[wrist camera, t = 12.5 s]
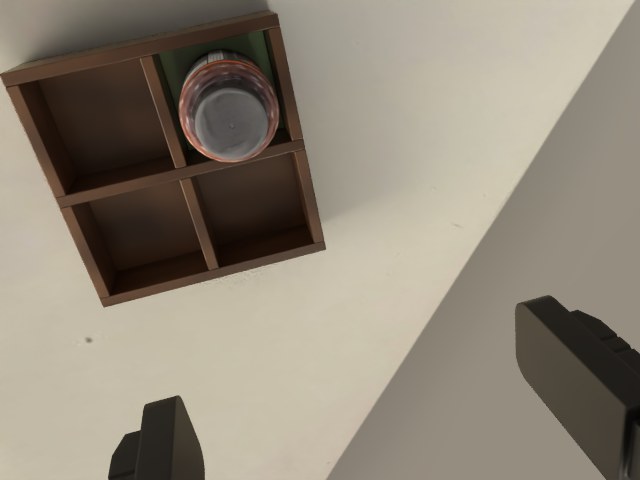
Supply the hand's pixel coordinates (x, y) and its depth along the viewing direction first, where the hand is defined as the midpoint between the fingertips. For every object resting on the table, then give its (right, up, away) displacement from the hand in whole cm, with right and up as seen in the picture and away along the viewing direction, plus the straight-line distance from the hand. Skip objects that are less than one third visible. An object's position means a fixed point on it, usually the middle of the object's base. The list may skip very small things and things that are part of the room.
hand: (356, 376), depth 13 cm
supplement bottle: (-8, +14, +27) cm, 32 cm away
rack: (-11, +10, +29) cm, 33 cm away
